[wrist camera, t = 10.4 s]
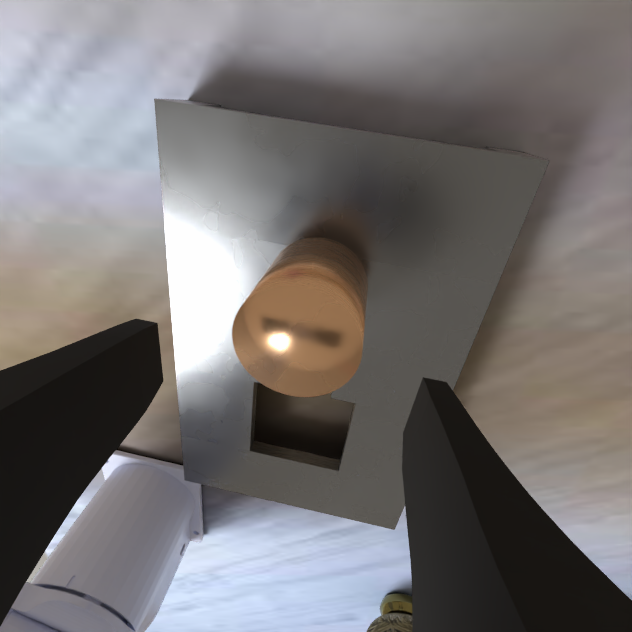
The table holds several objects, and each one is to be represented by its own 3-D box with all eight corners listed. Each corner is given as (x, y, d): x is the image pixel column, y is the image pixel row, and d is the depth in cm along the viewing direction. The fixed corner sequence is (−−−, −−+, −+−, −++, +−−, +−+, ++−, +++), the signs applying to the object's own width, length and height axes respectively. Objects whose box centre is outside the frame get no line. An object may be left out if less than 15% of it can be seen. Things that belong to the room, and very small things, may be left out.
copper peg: (368, 301, 19) (359, 411, 12) (284, 290, 19) (229, 390, 12) (381, 214, 17) (379, 289, 10) (286, 204, 17) (221, 269, 10)
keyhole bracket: (393, 492, 26) (394, 529, 24) (201, 449, 27) (184, 480, 25) (524, 152, 15) (549, 160, 12) (187, 100, 16) (154, 98, 13)
